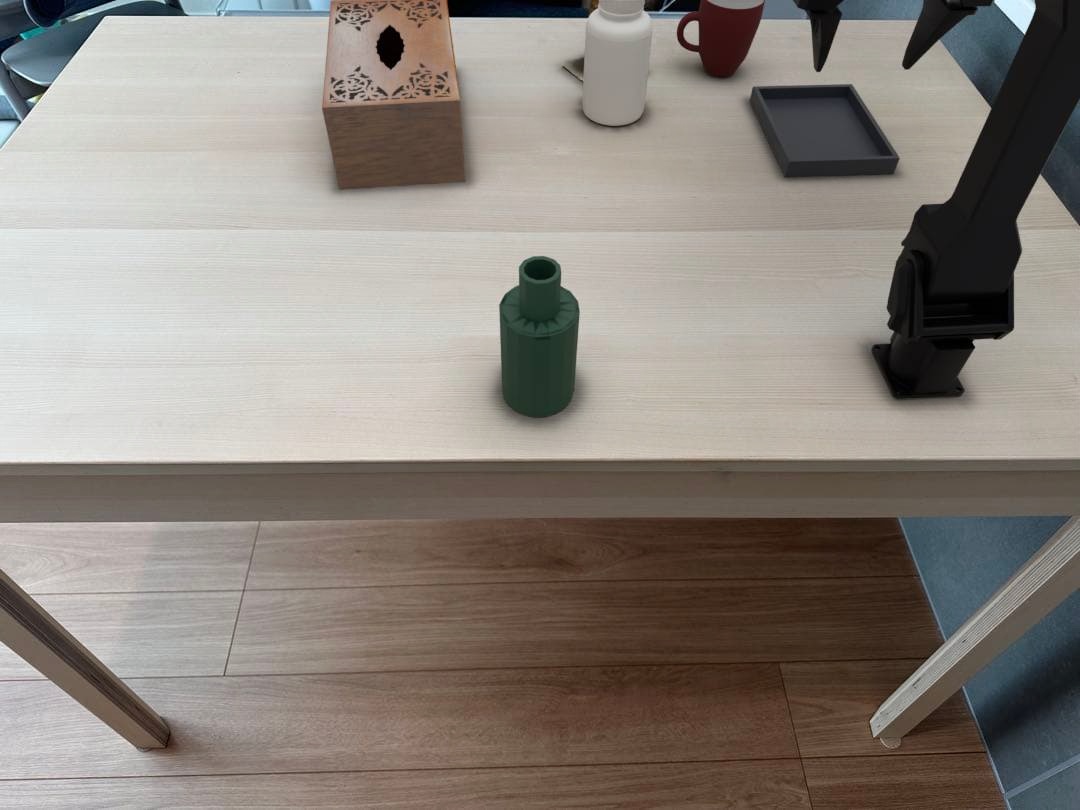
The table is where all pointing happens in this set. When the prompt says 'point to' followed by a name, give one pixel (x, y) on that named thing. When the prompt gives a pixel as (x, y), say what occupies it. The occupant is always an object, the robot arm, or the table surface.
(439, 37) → the tissue box cover
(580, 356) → the table surface
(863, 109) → the tray
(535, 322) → the bottle
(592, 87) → the pill bottle
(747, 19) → the mug
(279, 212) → the table surface
